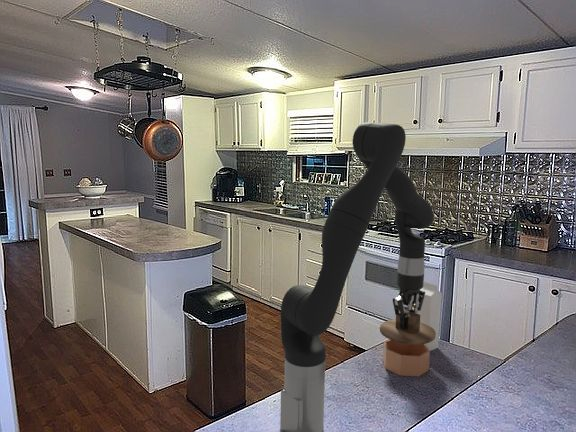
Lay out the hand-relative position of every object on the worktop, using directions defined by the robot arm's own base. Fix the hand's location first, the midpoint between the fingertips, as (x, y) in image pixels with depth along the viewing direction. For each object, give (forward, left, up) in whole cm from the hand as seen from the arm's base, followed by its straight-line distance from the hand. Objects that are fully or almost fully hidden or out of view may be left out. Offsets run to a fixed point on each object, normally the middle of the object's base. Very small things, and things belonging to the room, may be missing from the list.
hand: (407, 326), depth 127 cm
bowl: (0, 0, -12) cm, 12 cm away
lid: (0, 0, -2) cm, 2 cm away
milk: (+16, +3, -12) cm, 21 cm away
